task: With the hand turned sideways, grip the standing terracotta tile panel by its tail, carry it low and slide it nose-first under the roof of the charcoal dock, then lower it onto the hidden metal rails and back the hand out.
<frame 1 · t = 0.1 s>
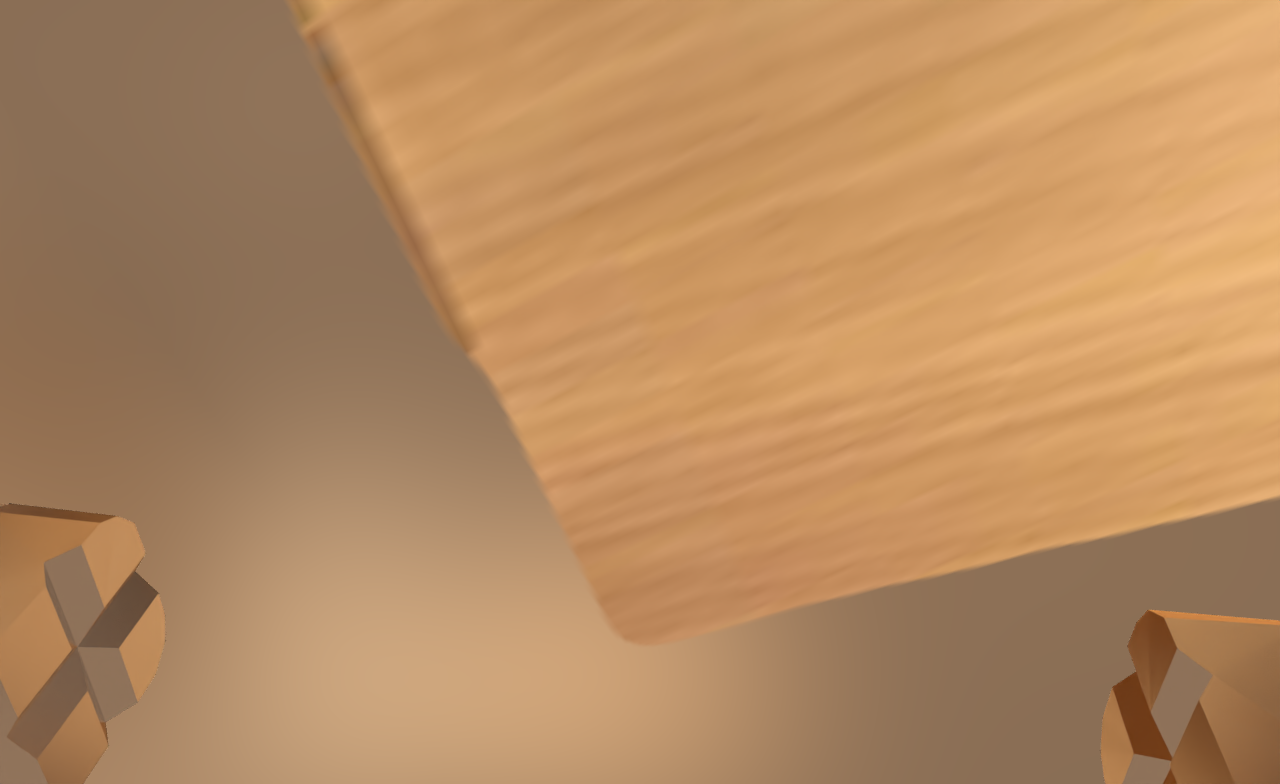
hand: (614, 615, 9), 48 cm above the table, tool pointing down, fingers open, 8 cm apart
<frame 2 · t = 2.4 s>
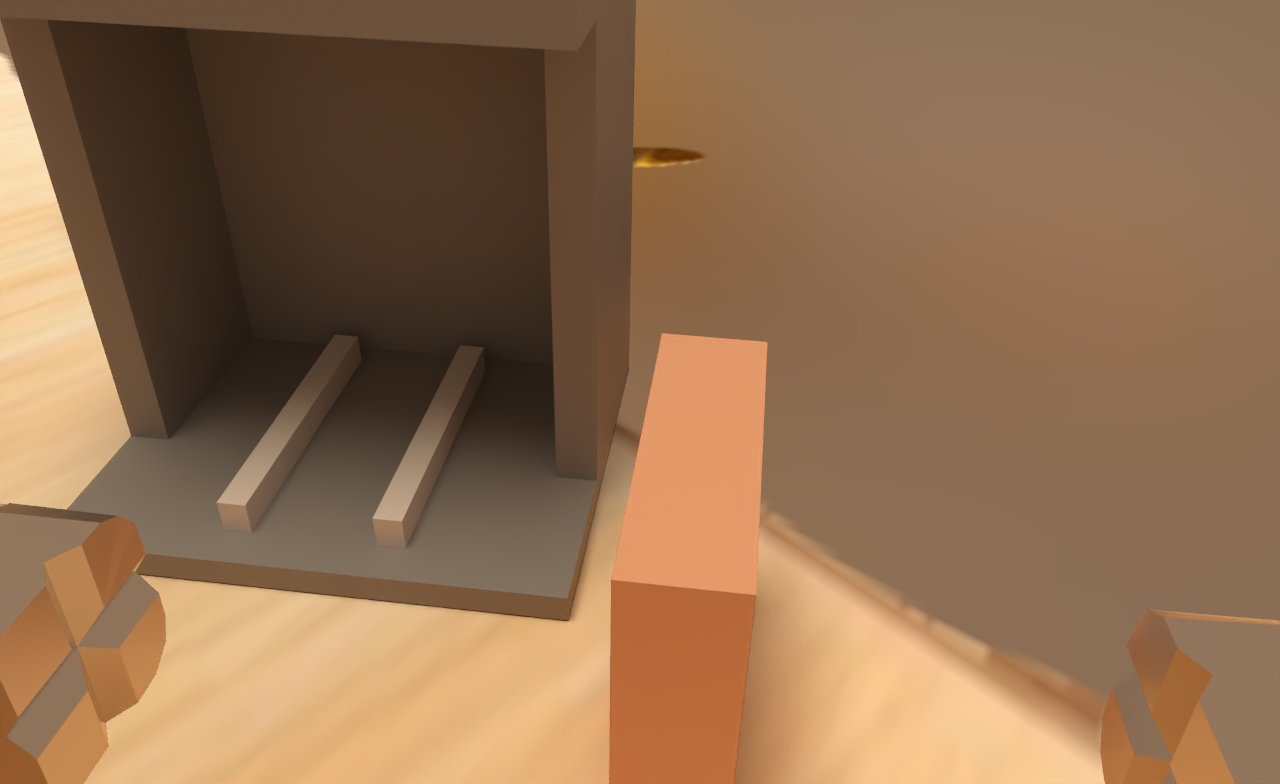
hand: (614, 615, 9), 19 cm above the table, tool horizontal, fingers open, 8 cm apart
overhang dock: (353, 495, 39), on the table
tile panel: (682, 709, 31), on the table
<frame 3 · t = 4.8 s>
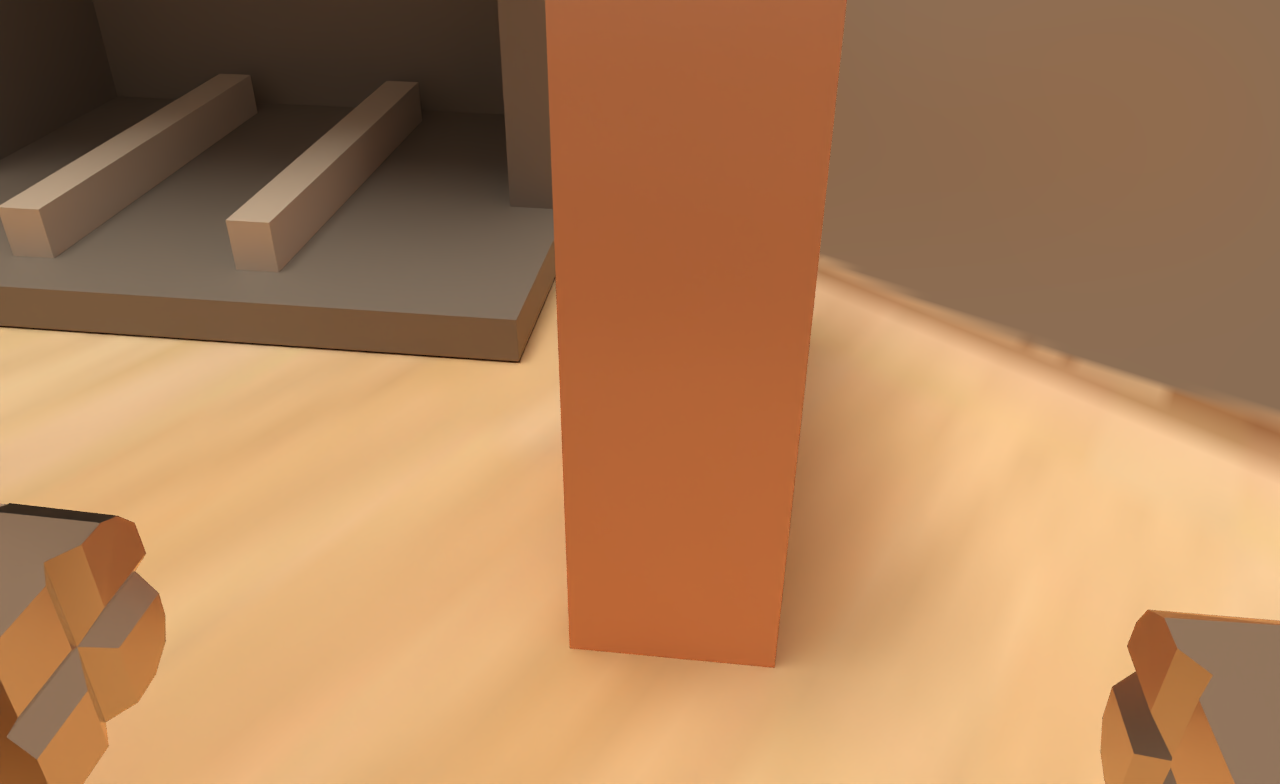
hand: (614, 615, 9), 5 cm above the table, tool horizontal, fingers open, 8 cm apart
overhang dock: (222, 241, 27), on the table
tile panel: (696, 459, 20), on the table
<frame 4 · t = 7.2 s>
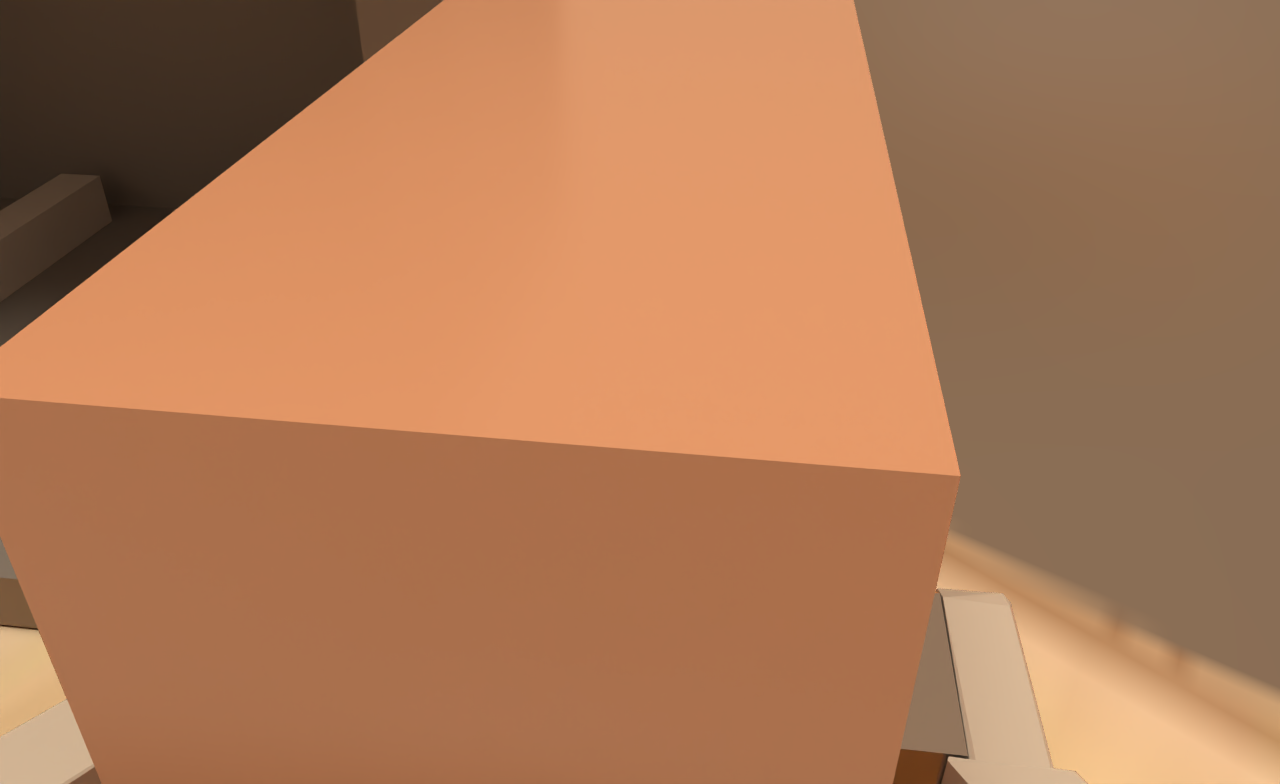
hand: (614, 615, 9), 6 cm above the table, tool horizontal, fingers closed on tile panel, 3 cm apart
overhang dock: (22, 426, 20), on the table
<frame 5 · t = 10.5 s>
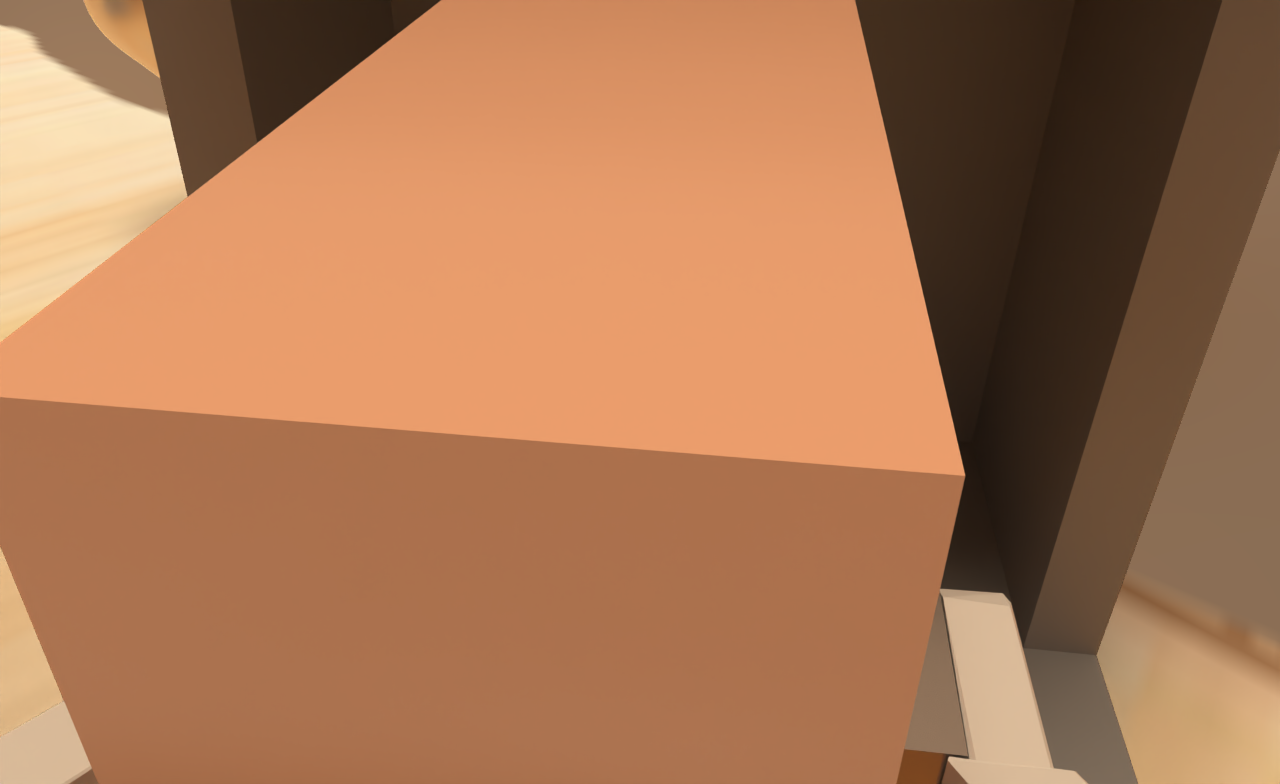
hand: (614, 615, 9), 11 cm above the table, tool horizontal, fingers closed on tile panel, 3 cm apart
goblet set: (440, 166, 48), on the table
overhang dock: (665, 680, 23), on the table
when the fingers open (8 cm above the table, at t = 14.0 s): tile panel drops 1 cm, resting on overhang dock.
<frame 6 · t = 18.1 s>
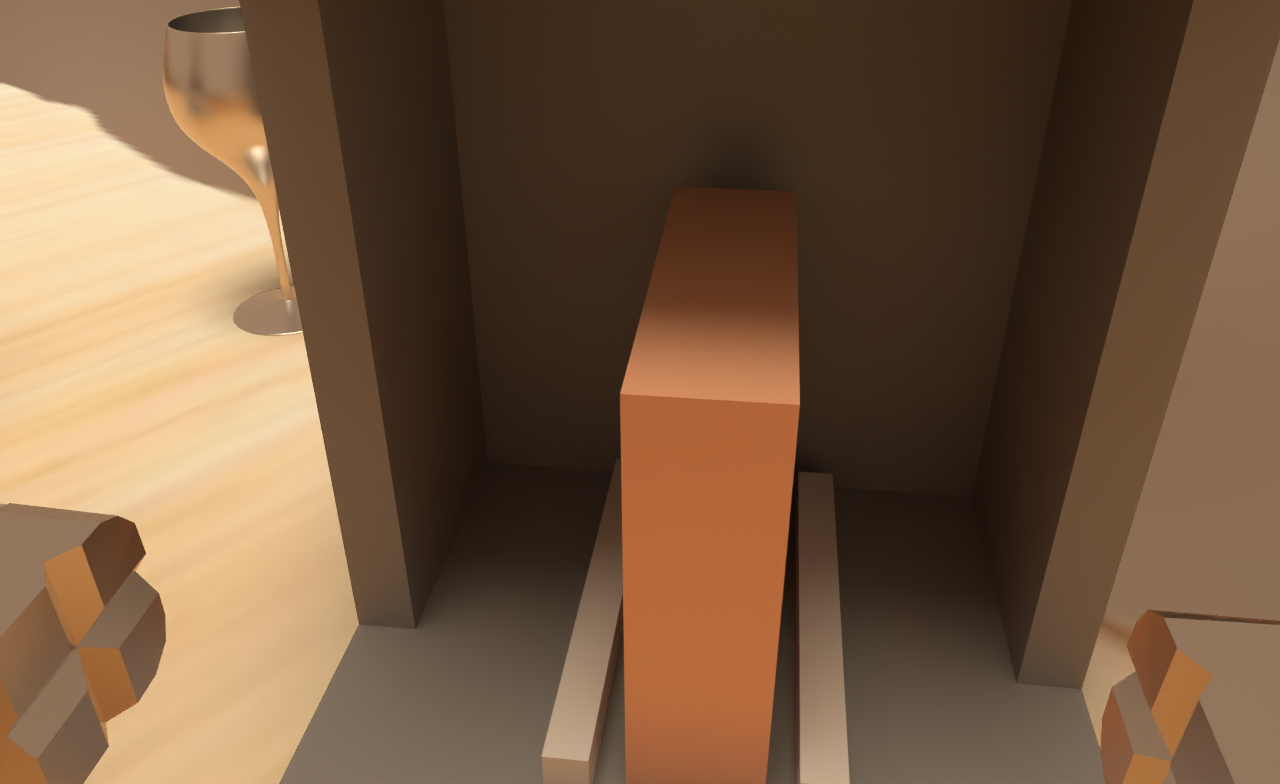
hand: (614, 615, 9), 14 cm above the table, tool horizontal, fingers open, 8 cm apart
goblet set: (479, 236, 52), on the table
overhang dock: (702, 714, 26), on the table
tile panel: (709, 629, 27), point 1 cm above the table, touching overhang dock
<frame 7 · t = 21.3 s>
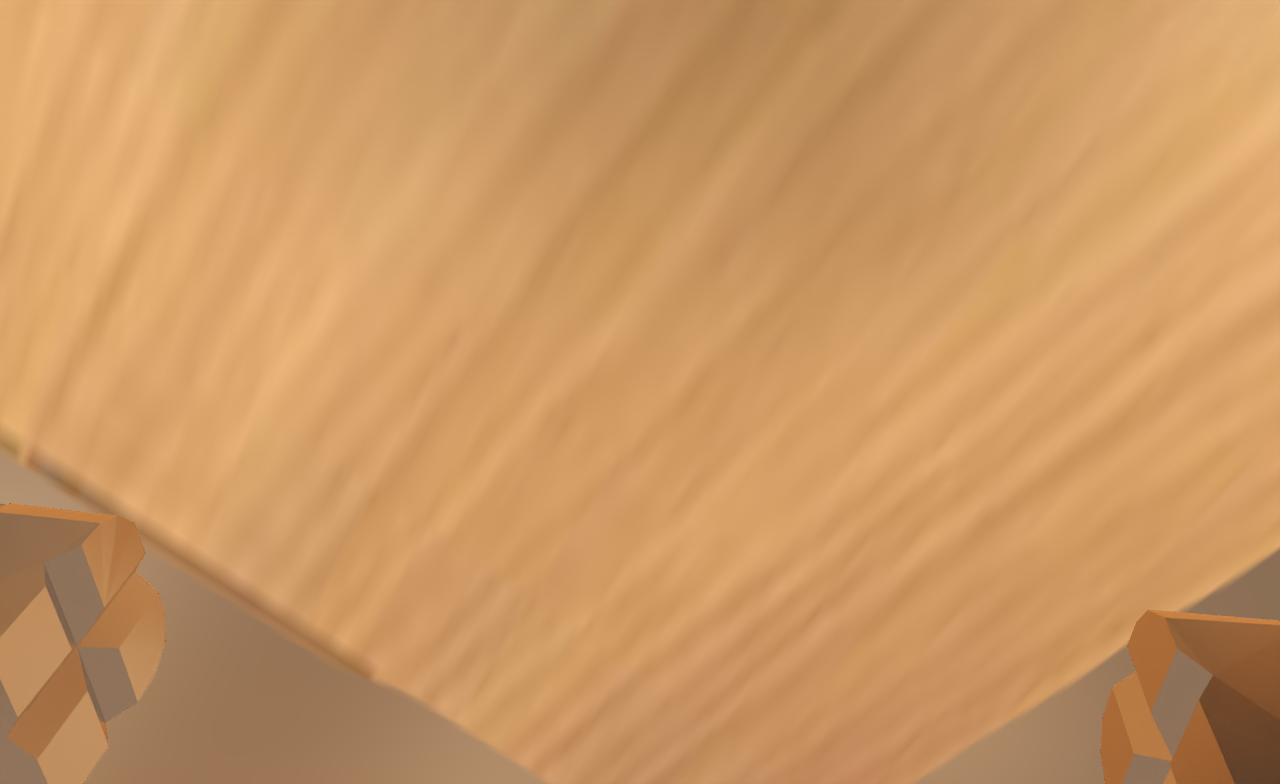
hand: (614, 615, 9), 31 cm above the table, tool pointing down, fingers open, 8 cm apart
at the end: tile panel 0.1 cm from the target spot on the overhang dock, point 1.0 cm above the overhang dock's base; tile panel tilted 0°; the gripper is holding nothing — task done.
